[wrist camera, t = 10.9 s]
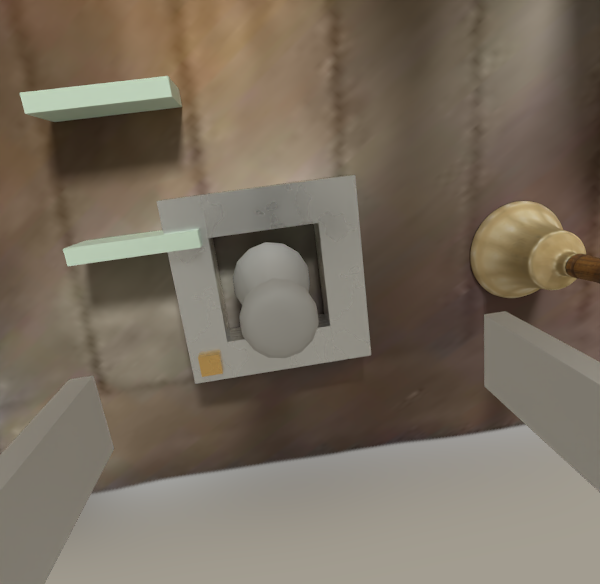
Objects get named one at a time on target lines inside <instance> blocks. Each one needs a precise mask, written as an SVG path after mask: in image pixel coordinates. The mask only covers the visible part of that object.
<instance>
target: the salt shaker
mask: <svg viewBox="0 0 600 584" xmlns="http://www.w3.org/2000/svg"><path fill="white" fill-rule="evenodd" d="M233 283H234V289H235V295H236V297H237V298H238V300H239V301H240V303H241V304H242V309H241V312H240V316H239V319H240V325H241V331H242V335H243V337H244V338H245V340H246V341H247V342H248V343H249V345H250V346H251V347H252V348H253V350H255V351H257V352H258V353H260V354H262V355H264V356H266V357H268V358H288V357H290V356H293V355H295V354H298V353H301V352H302V351H303V350H304V349H305V348H306V347H307V346H308V345H309V344H310V343H311V342H312V341H313V338H314V335H315V333H316V330H317V327H318V323H319V320H318V313H317V306H316V303H315V302H314V300H313V299H312V297H311V296H310V294H309V293H308V292H309V286H310V279H309V272H308V266H307V265H306V263H305V262H304V260H303V259H302V257H301V256H300V254H299V253H298V252H297V251H295V250H293V249H292V248H290V247H288V246H286V245H285V244H282V243H269V242H265V243H262V244H260V245H257V246H255V247H252V248H250V249H249V250H248V251H247V252H246V253H245V254H244V255H243V256H242V257H241V258H240V259H239V260H238V261H237V264H236V268H235V271H234V275H233Z"/></svg>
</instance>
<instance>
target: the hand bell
mask: <svg viewBox="0 0 600 584" xmlns="http://www.w3.org/2000/svg"><path fill="white" fill-rule="evenodd" d="M470 259H471V267H472V271H473V273H474V275H475V278H476V279H477V281H478V282H479V284H480V285H481V286H482V287H483V288H484V289H485V290H487V291H488V292H490V293H491V294H494V295H496V296H500V297H504V298H518V297H523V296H526V295H529V294H532V293H534V292H536V291H538V290H539V289H546V290H558V289H562V288H564V287H567V286H568V285H570V284H572V283H573V282H574V281H575V280H576V279H577V278H579V279H584V280H588V281H593V282H597V283H600V258H597V257H593V256H588V255H586V251H585V247H584V245H583V243H582V241H581V240H580V239H579V238H578V237H577V236H576V235H574V234H573V233H571V232H568V231H565V230H563V228H562V226H561V223H560V222H559V220H558V218H557V217H556V216H555V214H554V213H553V212H552V211H550V210H549V209H548V208H546V207H545V206H543V205H541V204H538V203H535V202H531V201H516V202H512V203H509V204H506V205H504V206H502V207H500V208H498V209H496V210H495V211H494V212H492V213H491V214H490V215H489V216H488V217H487V218H486V219H485V220H484V221H483V222H482V224H481V225H480V227H479V228H478V230H477V232H476V234H475V236H474V239H473V242H472V246H471V252H470Z"/></svg>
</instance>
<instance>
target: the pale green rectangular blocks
mask: <svg viewBox="0 0 600 584" xmlns="http://www.w3.org/2000/svg"><path fill="white" fill-rule="evenodd" d="M20 96H21V100H22V103H23V107H24V111H25V114H28V115H31V116H35V117H38V118H42V119H45V120H49V121H52V122H60V121H69V120H77V119H85V118H94V117H102V116H111V115H119V114H128V113H136V112H145V111H153V110H161V109H170V108H178V107H182V104H181V98H180V93H179V89H178V87H177V86H176V85H175V84H174V83H173V81H172V80H171V79H170V78H169V77H168V76H163V77H154V78H146V79H137V80H128V81H119V82H110V83H101V84H93V85H84V86H75V87H66V88H57V89H49V90H40V91H31V92H22V93H20ZM201 246H202V241H201V236H200V231H199V229H193V230H186V231H179V232H172V233H163V230H160V231H153V232H145V233H138V234H131V235H123V236H116V237H109V238H102V239H94V240H87V241H83V242H81V243H78V244H75V245H72V246H69V247H67V248H64V249H63V251H64V255H65V259H66V262H67V266H73V265H80V264H87V263H94V262H101V261H109V260H116V259H123V258H130V257H137V256H144V255H151V254H158V253H165V252H172V251H179V250H187V249H194V248H201Z"/></svg>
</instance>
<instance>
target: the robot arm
mask: <svg viewBox="0 0 600 584" xmlns="http://www.w3.org/2000/svg"><path fill="white" fill-rule="evenodd" d="M484 387H486V388H487V389H488V390H489V391H490V392H491V393H492V394H493V395H494V396H495V397H496V398H498V399H499V400H500V401H501V402H502V403H503V404H504V405H505V406H506V407H507V408H508V409H510V410H511V411H512V412H513V413H514V414H515V415H516V416H517V417H518V418H519V419H520V420H521V421H523V422H524V423H525V424H526V425H527V426H528V427H529V428H530V429H531V430H532V431H533V432H535V433H536V434H537V435H538V436H539V437H540V438H541V439H542V440H543V441H544V442H545V443H547V444H548V445H549V446H550V447H551V448H552V449H553V450H554V451H555V452H556V453H557V454H559V455H560V456H561V457H562V458H563V459H564V460H565V461H566V462H567V463H568V464H569V465H570V466H572V467H573V468H574V469H575V470H576V471H577V472H578V473H579V474H580V475H581V476H582V477H584V478H585V479H586V480H587V481H588V482H589V483H590V484H591V485H592V486H593V487H594V488H596V489H597V490H598V491H599V492H600V362H598V361H597V360H595V359H593V358H591V357H589V356H587V355H586V354H584V353H582V352H580V351H578V350H576V349H574V348H573V347H571V346H569V345H567V344H565V343H563V342H561V341H560V340H558V339H556V338H554V337H552V336H550V335H549V334H547V333H545V332H543V331H541V330H539V329H537V328H536V327H534V326H532V325H530V324H528V323H526V322H524V321H523V320H521V319H519V318H517V317H515V316H513V315H512V314H510V313H508V312H506V311H503V312H497V313H491V314H484ZM113 450H114V446H113V443H112V439H111V436H110V432H109V429H108V425H107V422H106V418H105V415H104V411H103V408H102V404H101V401H100V397H99V394H98V390H97V387H96V383H95V380H94V376H88V377H81V378H75V379H69V380H68V381H67V382H66V383H65V384H64V386H63V387H62V388H61V389H60V390H59V391H58V392H57V393H56V394H55V395H54V397H53V398H52V399H51V400H50V401H49V402H48V403H47V404H46V405H45V406H44V408H43V409H42V410H41V411H40V412H39V413H38V414H37V415H36V416H35V417H34V418H33V420H32V421H31V422H30V423H29V424H28V425H27V426H26V427H25V428H24V429H23V431H22V432H21V433H20V434H19V435H18V436H17V437H16V438H15V439H14V440H13V442H12V443H11V444H10V445H9V446H8V447H7V448H6V449H5V450H4V451H3V452H2V454H1V455H0V584H45V582H46V580H47V578H48V576H49V574H50V572H51V570H52V568H53V566H54V564H55V562H56V561H57V559H58V557H59V555H60V553H61V551H62V549H63V547H64V545H65V543H66V541H67V539H68V537H69V535H70V533H71V531H72V529H73V527H74V526H75V523H76V522H77V520H78V518H79V516H80V514H81V512H82V510H83V508H84V506H85V504H86V502H87V500H88V498H89V496H90V495H91V493H92V491H93V489H94V487H95V485H96V483H97V481H98V479H99V477H100V475H101V473H102V471H103V469H104V467H105V465H106V463H107V462H108V460H109V458H110V456H111V454H112V452H113Z"/></svg>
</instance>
